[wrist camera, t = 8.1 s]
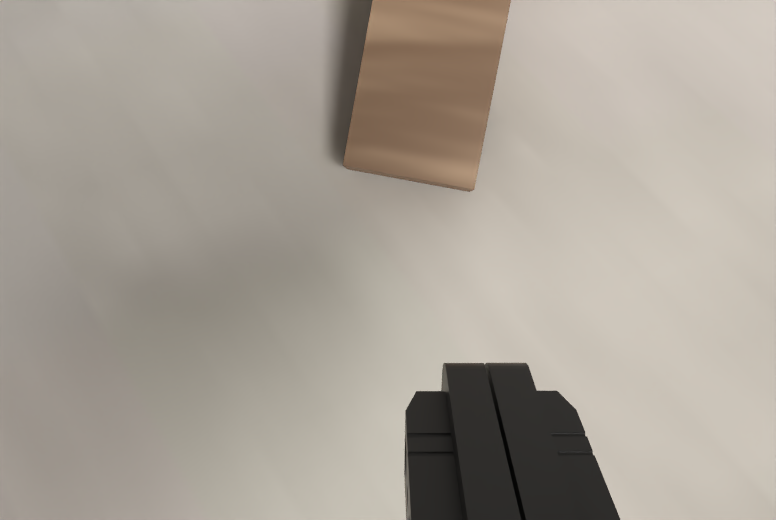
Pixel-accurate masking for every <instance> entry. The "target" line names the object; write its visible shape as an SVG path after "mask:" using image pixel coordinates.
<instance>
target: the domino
mask: <svg viewBox="0 0 776 520" xmlns="http://www.w3.org/2000/svg"><path fill="white" fill-rule="evenodd" d="M510 2H511V0H373V1H372V6H371V12H370V17H369V23H368V28H367V34H366V39H365V45H364V50H363V56H362V62H361V67H360V73H359V78H358V84H357V89H356V95H355V100H354V106H353V111H352V117H351V122H350V128H349V133H348V139H347V144H346V150H345V155H344V161H343V166H344V167H346V168H347V169H350V170H355V171H361V172H366V173H371V174H377V175H382V176H388V177H393V178H398V179H404V180H409V181H415V182H420V183H425V184H431V185H436V186H441V187H447V188H452V189H458V190H463V191H468V192H470V191H472V190H474V188H475V182H476V177H477V172H478V167H479V162H480V157H481V152H482V146H483V141H484V136H485V131H486V126H487V121H488V115H489V110H490V105H491V100H492V95H493V90H494V84H495V79H496V74H497V69H498V64H499V59H500V54H501V48H502V43H503V38H504V33H505V28H506V23H507V17H508V12H509V7H510Z"/></svg>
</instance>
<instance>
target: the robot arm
mask: <svg viewBox="0 0 776 520" xmlns="http://www.w3.org/2000/svg"><path fill="white" fill-rule="evenodd" d="M404 475H405V497H406V520H620V518H619V515H618V513H617V510H616V508H615V505H614V503H613V500H612V498H611V495H610V493H609V490H608V488H607V485H606V483H605V480H604V478H603V475H602V473H601V470H600V468H599V466H598V463H597V461H596V458H595V456H594V455H593V453H592V448H591V446H590V443H589V441H588V438H587V437H585V431H584V428H583V426H582V423H581V421H580V418H579V416H578V413H577V411H576V409H575V408H574V407H573V406H572V405H571V404H570V403H569V402H568V401H567V400H566V399H565V398H564V397H563V396H562V395H561V394H560V393H559V392H558V391H536V388H535V385H534V382H533V379H532V376H531V373H530V370H529V367H528V365H527V364H526V363H486V364H485V365H484V363H444V364H443V371H442V390H441V391H416V393H415V395H414V397H413V398H412V400H411V402H410V404H409V406H408V407H407V409H406V419H405V470H404Z"/></svg>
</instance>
